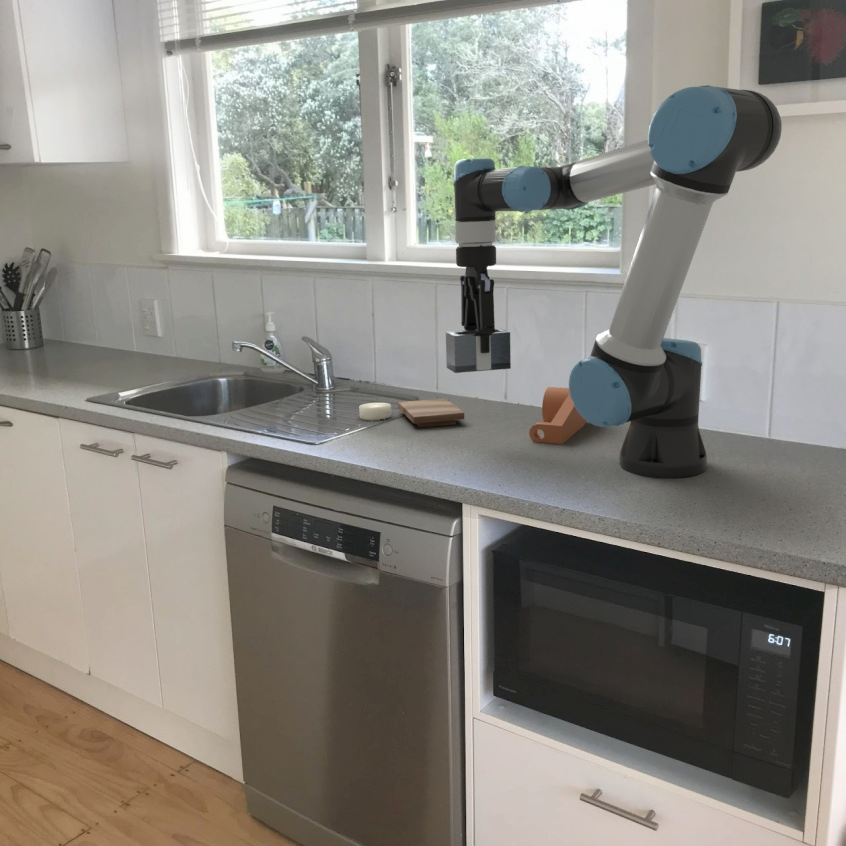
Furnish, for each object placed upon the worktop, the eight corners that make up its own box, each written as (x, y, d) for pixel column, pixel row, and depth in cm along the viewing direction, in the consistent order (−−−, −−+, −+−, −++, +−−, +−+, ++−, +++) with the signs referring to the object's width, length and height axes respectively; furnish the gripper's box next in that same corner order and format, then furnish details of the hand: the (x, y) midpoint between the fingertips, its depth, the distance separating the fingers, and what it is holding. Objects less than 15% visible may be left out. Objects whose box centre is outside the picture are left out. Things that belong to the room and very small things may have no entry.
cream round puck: (397, 418, 203) (396, 405, 203) (370, 423, 199) (369, 409, 199) (380, 414, 209) (380, 401, 208) (354, 418, 205) (353, 405, 204)
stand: (464, 426, 195) (464, 412, 194) (414, 430, 193) (413, 417, 192) (445, 411, 209) (445, 398, 209) (398, 415, 207) (397, 402, 206)
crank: (553, 419, 200) (553, 383, 198) (589, 422, 197) (589, 385, 195) (523, 442, 183) (523, 403, 181) (561, 445, 180) (562, 406, 178)
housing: (510, 368, 176) (510, 332, 174) (455, 372, 173) (454, 336, 172) (500, 363, 181) (499, 328, 180) (446, 367, 179) (445, 332, 177)
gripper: (511, 245, 164) (513, 373, 169) (479, 242, 182) (481, 357, 187) (471, 247, 162) (474, 376, 167) (443, 243, 180) (446, 360, 185)
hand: (478, 366), depth 177 cm, fingers closed on housing, 6 cm apart
